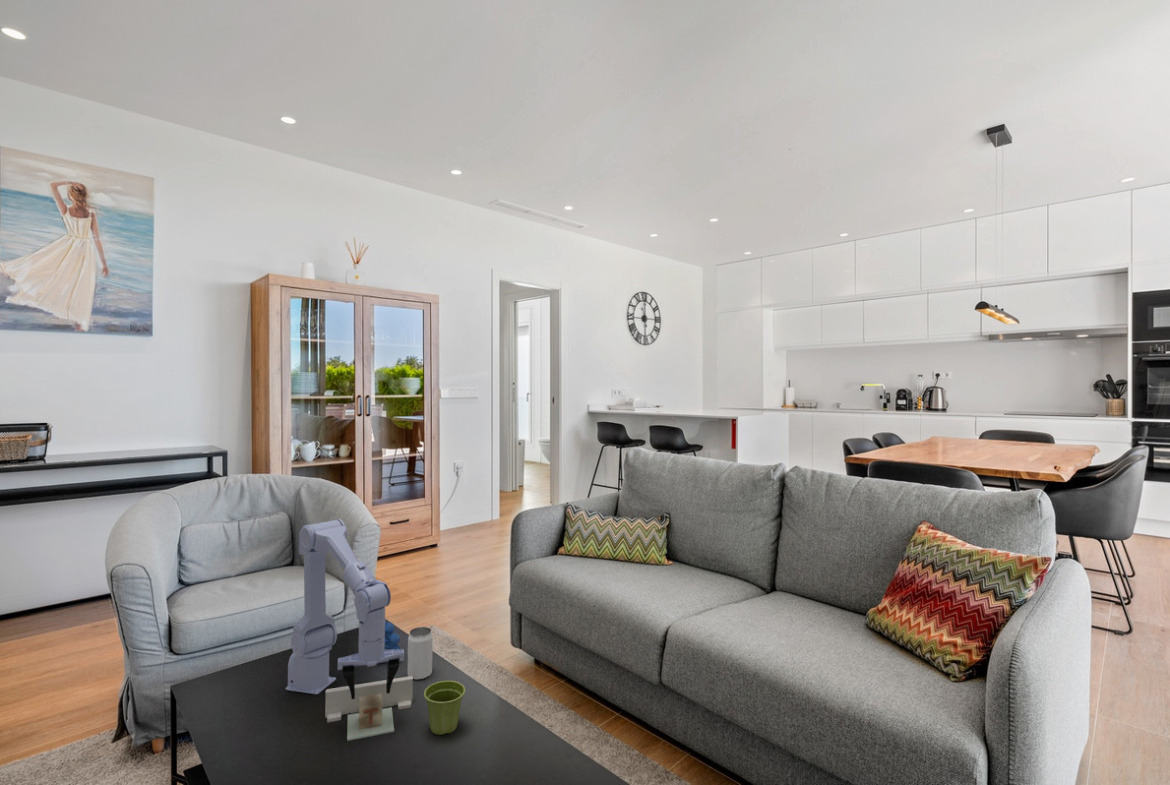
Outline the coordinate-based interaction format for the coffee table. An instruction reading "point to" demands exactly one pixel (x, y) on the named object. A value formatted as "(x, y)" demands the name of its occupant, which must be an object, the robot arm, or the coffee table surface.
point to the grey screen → (343, 704)
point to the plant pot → (444, 705)
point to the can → (420, 653)
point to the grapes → (391, 638)
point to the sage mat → (355, 733)
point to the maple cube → (370, 711)
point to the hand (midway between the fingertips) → (370, 694)
